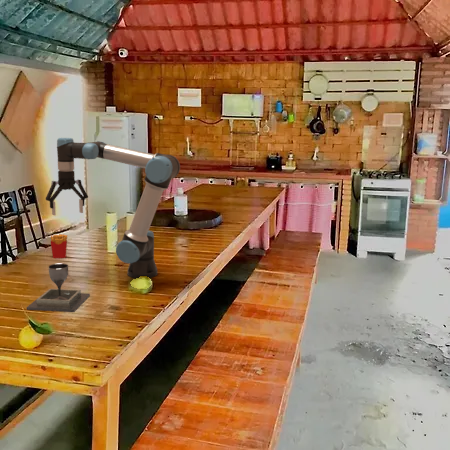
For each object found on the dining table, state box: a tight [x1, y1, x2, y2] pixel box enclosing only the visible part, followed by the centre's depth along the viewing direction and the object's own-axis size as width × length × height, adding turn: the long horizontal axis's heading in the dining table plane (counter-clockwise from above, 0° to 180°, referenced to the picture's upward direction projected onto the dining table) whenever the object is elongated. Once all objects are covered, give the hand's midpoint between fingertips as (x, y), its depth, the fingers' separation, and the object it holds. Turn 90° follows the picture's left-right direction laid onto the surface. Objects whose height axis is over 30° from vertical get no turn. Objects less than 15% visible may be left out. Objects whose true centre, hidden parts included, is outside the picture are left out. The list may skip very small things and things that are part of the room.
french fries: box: [50, 233, 68, 259], centre depth 290 cm, size 9×4×13 cm, turn 99°
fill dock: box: [26, 288, 91, 313], centre depth 221 cm, size 20×20×4 cm
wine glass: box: [48, 263, 69, 300], centre depth 221 cm, size 8×8×15 cm
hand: (67, 213), depth 252 cm, fingers open, 13 cm apart
